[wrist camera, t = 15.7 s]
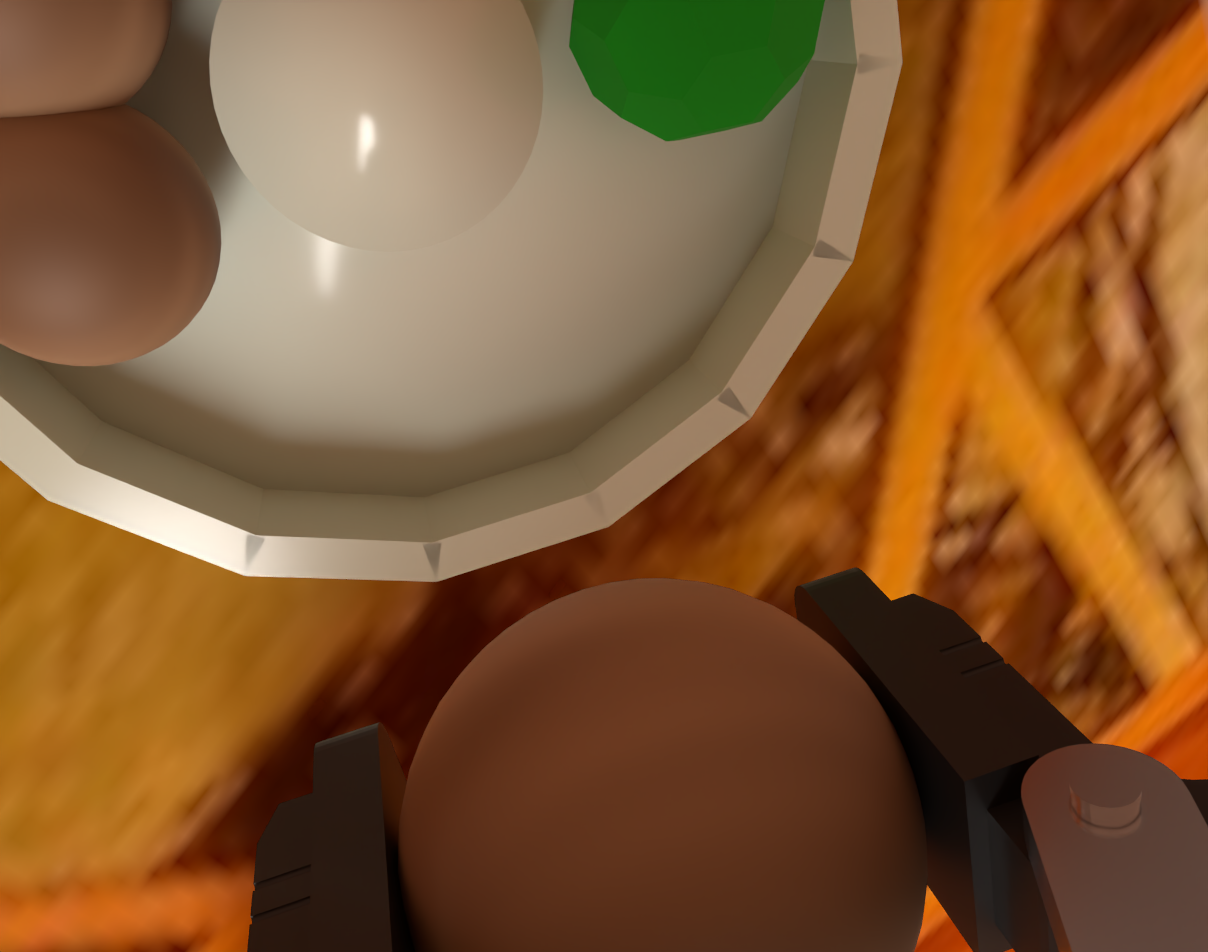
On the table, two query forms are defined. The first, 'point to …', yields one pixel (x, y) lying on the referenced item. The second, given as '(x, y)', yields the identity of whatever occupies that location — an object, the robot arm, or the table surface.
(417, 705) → the table surface
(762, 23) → the polyhedron
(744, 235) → the tray
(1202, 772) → the table surface
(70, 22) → the joined brown beads
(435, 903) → the walnut bead
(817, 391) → the table surface
